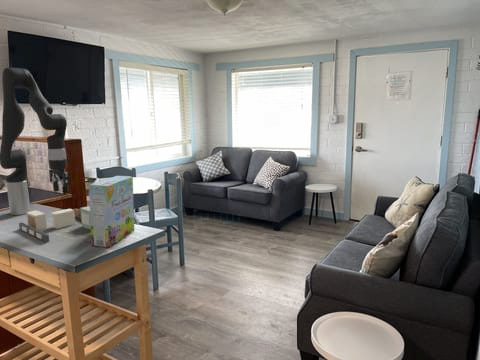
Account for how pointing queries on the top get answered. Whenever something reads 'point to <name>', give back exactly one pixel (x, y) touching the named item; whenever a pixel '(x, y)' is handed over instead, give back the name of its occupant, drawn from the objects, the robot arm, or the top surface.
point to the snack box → (111, 210)
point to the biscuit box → (63, 218)
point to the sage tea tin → (86, 217)
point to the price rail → (34, 232)
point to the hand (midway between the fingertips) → (60, 192)
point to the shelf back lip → (77, 213)
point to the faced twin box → (36, 220)
